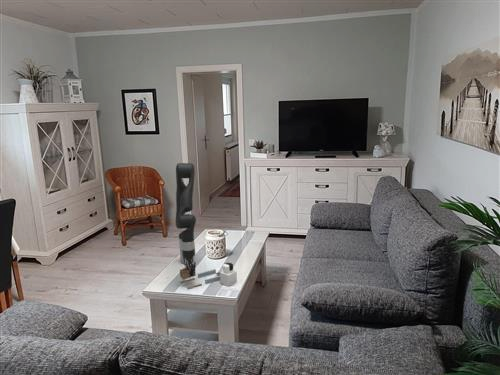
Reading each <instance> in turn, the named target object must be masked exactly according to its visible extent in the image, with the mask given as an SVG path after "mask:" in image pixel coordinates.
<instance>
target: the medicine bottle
mask: <svg viewBox="0 0 500 375" xmlns="http://www.w3.org/2000/svg"><path fill="white" fill-rule="evenodd" d="M219 272H220V280H219V281H220V284H221V285H225V286H227V287H231V286H232V285H234V284H236V283H238V279H237V278H238V276H237V275H238V274H237V270H234V264H233V263H232V262H225V263H223V264H222V271H219Z"/></svg>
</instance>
